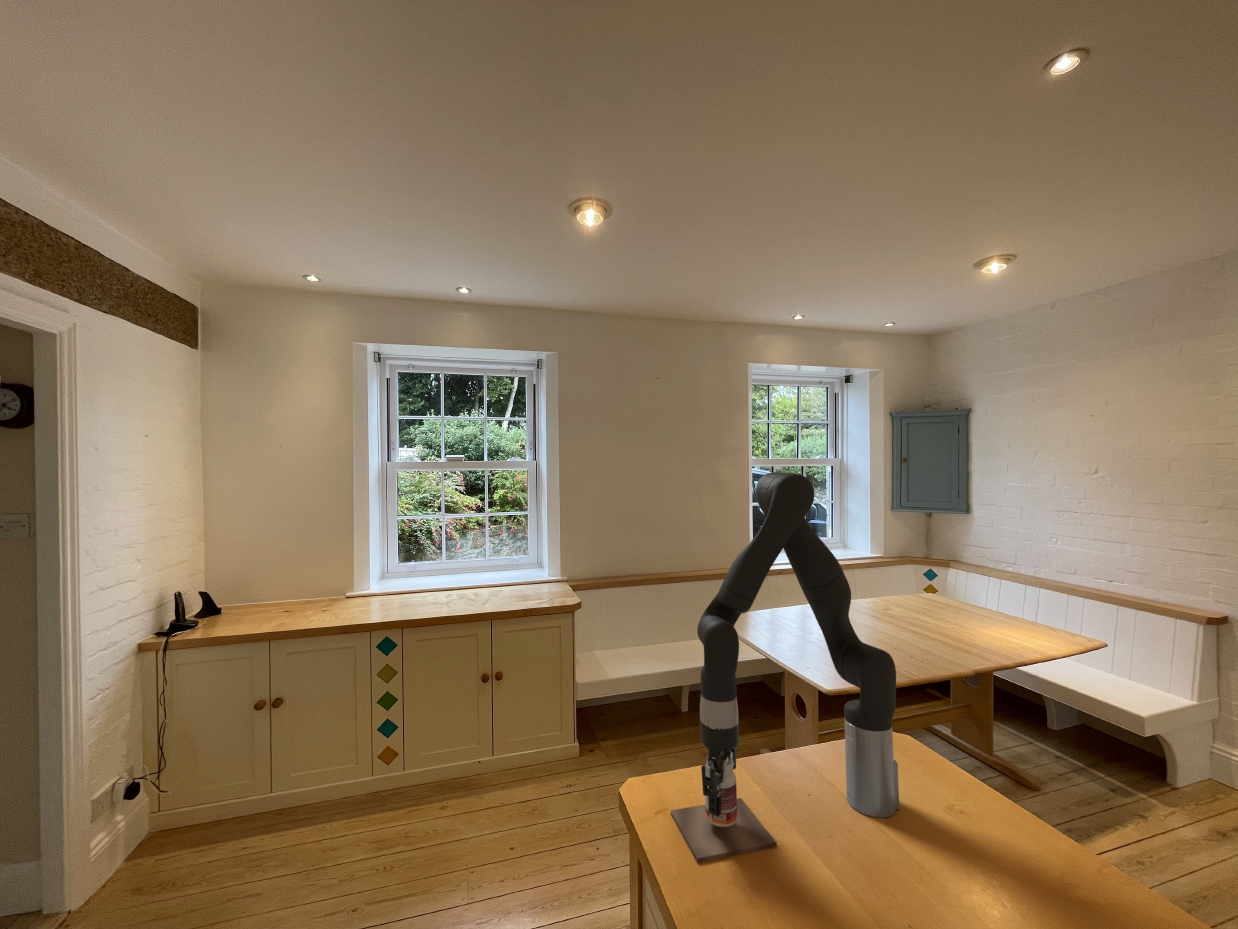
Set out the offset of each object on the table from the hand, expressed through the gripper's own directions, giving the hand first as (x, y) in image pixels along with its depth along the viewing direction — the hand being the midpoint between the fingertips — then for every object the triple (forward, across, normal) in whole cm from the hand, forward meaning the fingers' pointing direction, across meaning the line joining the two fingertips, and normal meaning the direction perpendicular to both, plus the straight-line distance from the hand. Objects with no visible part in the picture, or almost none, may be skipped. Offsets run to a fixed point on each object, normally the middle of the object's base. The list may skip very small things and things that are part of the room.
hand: (720, 804), depth 100 cm
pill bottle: (+3, 0, 0) cm, 3 cm away
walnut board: (+5, 0, 0) cm, 5 cm away
